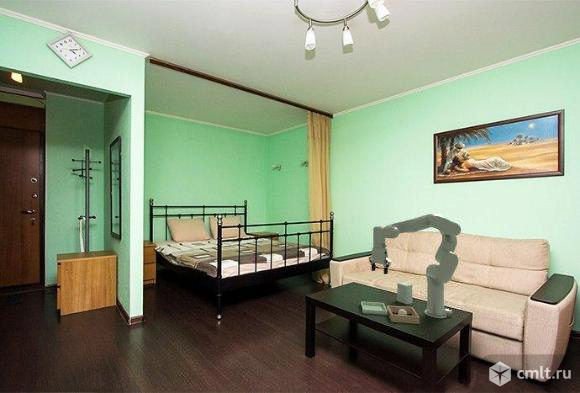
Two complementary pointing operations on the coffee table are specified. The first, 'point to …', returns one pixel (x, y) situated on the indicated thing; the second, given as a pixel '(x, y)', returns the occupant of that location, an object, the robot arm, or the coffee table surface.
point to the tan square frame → (403, 318)
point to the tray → (374, 308)
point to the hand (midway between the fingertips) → (379, 272)
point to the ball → (402, 312)
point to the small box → (404, 293)
